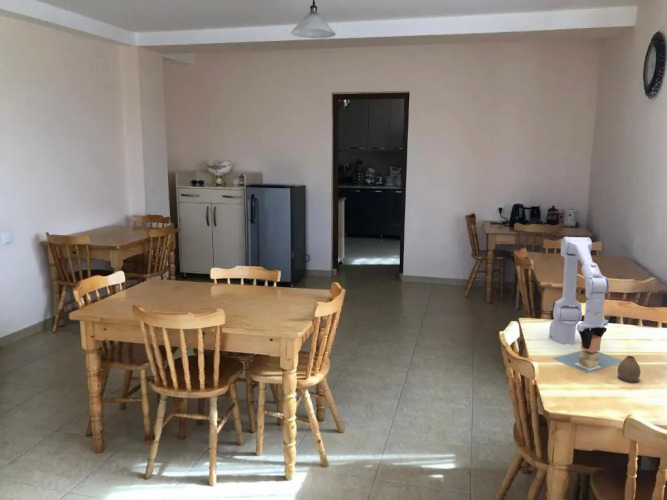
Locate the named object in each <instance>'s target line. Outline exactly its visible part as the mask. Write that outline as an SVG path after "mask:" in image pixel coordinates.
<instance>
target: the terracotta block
mask: <svg viewBox="0 0 667 500" xmlns="http://www.w3.org/2000/svg"><path fill="white" fill-rule="evenodd" d="M601 343H602V337H599V336H596V335H593V337H592V339H591V343H590V347H589V349H586V348H583V345H582V340H581V342H580V349H581V350H586V351H589V352H591V353H592V352H596V351H598V352H600V350H601Z"/></svg>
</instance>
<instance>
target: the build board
mask: <svg viewBox="0 0 667 500" xmlns="http://www.w3.org/2000/svg"><path fill="white" fill-rule="evenodd" d="M580 351H583V349H581V350H579V351H575V352H571V353H567V354H563V355H559V356H555V357H552V358H551V359H552V360H555V361H557V362H559V363H562V364H564V365H567V366H570V367H572V368H574V369H576V370H579V371H581V372H584V373H586V374H588V373H592V372H595V371H598V370H601V369H605V368H609V367H612V366H616V365H619V364H620V363H621V362H622V361H623V360H624V359H623V360H622V359H619V358H617V357H614V356H612V355H610V354H609V355H608V354H606V353H603V352H600V351H596V352H598V353H599V361H598V366H597V367H594V368H587V367H585V366H582V365H580V364H579V359H580Z"/></svg>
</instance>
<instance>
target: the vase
mask: <svg viewBox="0 0 667 500" xmlns="http://www.w3.org/2000/svg"><path fill="white" fill-rule="evenodd" d="M617 376H618V378H619V379H620V380H621V381H623V382H626V383H627V382H628V383H636V382H637V381H638V380H639V379H640V377H641V367H640V365H639V363H638V361H637V360H636V358H635V357H634V356H632V355H627V356H626V357H625V358H624V359H623V361H622V362H621V363H619V364H618V367H617Z"/></svg>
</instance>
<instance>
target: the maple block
mask: <svg viewBox="0 0 667 500" xmlns="http://www.w3.org/2000/svg"><path fill="white" fill-rule="evenodd" d="M582 350H583V349H582ZM582 350H579V351H580V359H579V364H580V365H582V366H585V367H587V368H594V367H597V366H598V361H599V353H598V352H599V351H598V352H592V353H591V352H589V351H586V350H583V351H582Z"/></svg>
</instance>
